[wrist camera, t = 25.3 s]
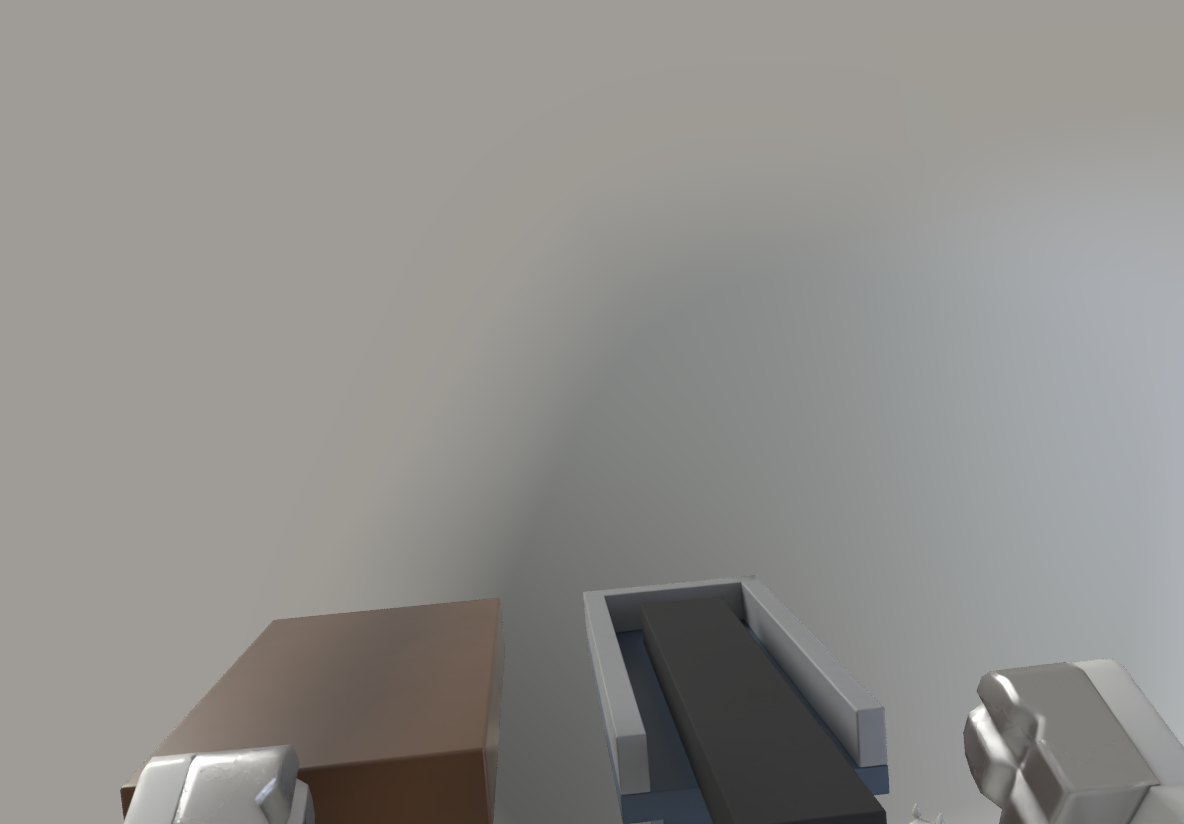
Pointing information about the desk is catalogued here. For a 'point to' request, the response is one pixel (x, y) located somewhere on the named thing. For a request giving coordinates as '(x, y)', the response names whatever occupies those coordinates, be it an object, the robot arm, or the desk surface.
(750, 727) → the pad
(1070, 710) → the robot arm
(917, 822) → the figurine
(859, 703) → the pad mount
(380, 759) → the pad stand
